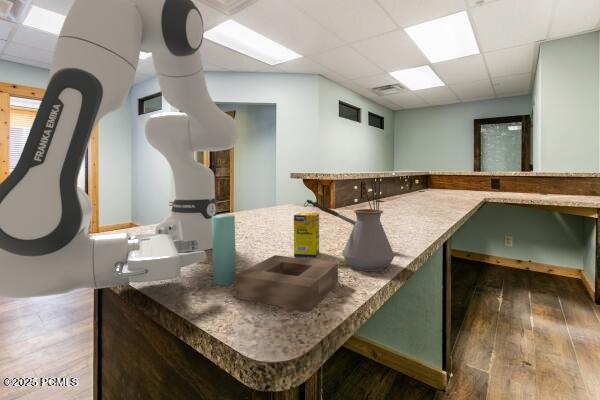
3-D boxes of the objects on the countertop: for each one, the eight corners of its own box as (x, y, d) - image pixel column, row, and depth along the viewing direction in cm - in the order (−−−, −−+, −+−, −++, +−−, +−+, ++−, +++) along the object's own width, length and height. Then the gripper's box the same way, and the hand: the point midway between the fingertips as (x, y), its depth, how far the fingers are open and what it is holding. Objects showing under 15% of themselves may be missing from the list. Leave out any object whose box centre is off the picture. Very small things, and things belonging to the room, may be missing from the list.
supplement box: (316, 258, 78) (316, 215, 77) (293, 257, 79) (293, 214, 78) (319, 252, 83) (319, 212, 82) (298, 251, 85) (297, 211, 84)
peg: (208, 283, 60) (206, 217, 59) (223, 276, 64) (221, 214, 63) (226, 286, 58) (224, 218, 57) (240, 279, 62) (239, 215, 61)
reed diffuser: (381, 255, 79) (382, 178, 78) (355, 252, 83) (356, 178, 81) (390, 247, 88) (391, 177, 87) (366, 244, 92) (367, 177, 90)
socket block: (235, 297, 53) (234, 274, 53) (275, 273, 66) (275, 255, 65) (309, 312, 47) (309, 286, 47) (338, 282, 60) (338, 262, 59)
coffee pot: (396, 262, 73) (398, 199, 72) (390, 277, 63) (391, 204, 62) (313, 253, 82) (313, 197, 81) (295, 265, 71) (294, 201, 70)
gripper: (110, 255, 43) (211, 244, 49) (120, 231, 61) (192, 225, 68) (113, 298, 44) (212, 282, 50) (122, 262, 62) (194, 253, 68)
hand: (201, 249), depth 59 cm, fingers open, 8 cm apart
